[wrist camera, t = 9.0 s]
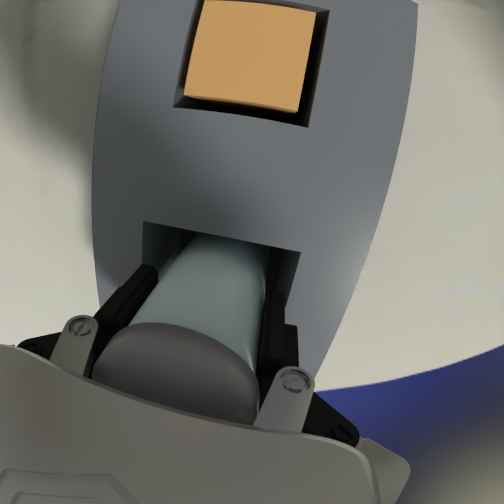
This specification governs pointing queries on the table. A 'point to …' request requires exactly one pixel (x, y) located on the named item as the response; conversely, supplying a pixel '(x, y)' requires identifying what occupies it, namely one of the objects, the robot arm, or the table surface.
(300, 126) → the block
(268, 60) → the tan cardboard cube
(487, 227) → the table surface
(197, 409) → the cylinder
